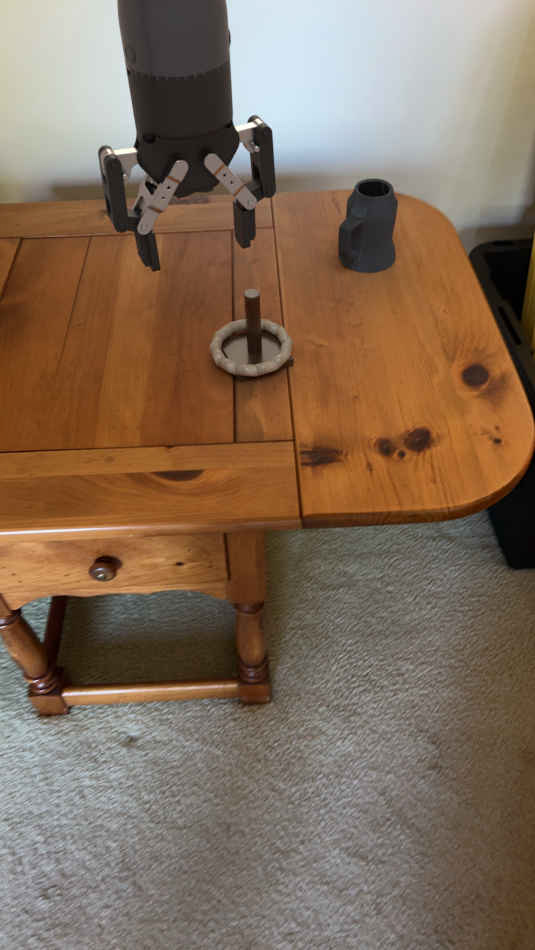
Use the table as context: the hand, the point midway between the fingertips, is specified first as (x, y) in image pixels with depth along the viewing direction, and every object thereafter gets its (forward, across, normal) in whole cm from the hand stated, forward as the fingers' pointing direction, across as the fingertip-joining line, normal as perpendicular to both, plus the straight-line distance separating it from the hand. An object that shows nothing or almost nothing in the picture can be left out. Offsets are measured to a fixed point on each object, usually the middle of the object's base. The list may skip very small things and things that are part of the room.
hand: (198, 255), depth 59 cm
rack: (+26, -11, -14) cm, 31 cm away
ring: (+24, -10, -14) cm, 30 cm away
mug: (+26, -35, -28) cm, 51 cm away
